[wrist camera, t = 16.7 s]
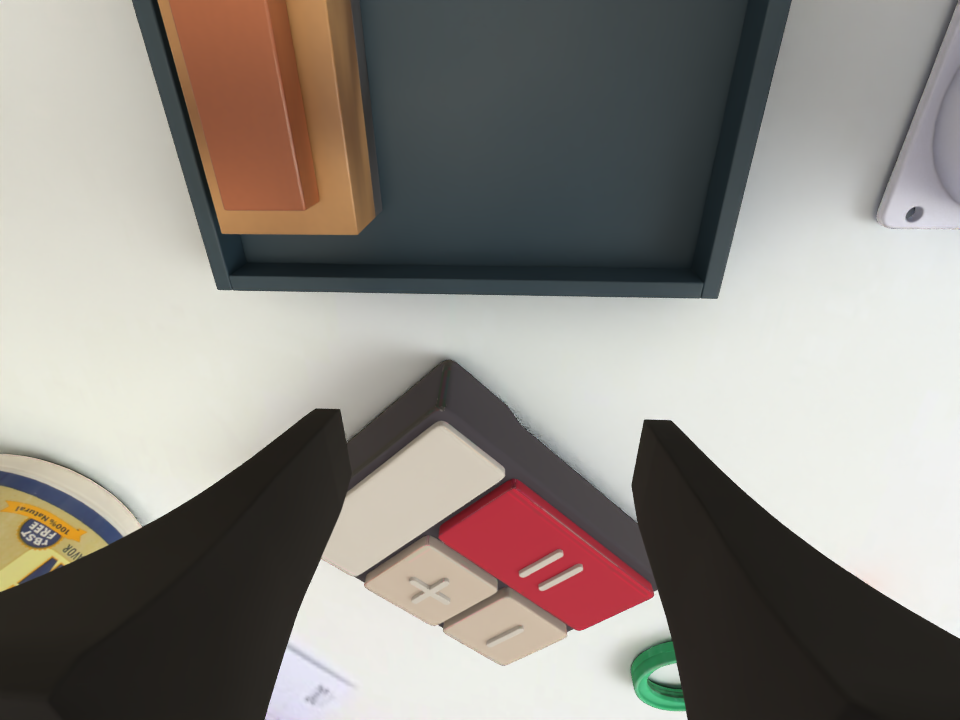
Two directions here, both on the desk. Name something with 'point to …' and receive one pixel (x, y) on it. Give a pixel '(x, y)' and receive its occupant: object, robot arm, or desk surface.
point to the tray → (528, 149)
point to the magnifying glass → (650, 690)
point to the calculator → (482, 524)
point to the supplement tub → (52, 518)
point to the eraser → (279, 112)
